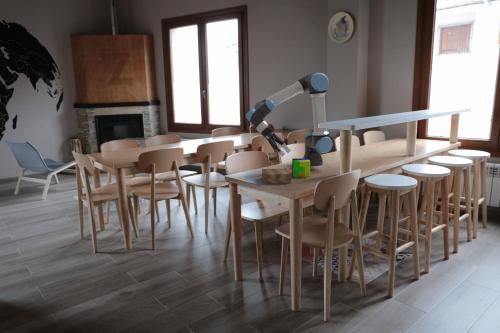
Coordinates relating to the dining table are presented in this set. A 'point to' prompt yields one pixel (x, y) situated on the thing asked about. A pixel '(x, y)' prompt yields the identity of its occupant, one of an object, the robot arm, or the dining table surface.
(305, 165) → the puzzle toy
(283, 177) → the walnut block
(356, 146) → the dining table surface
